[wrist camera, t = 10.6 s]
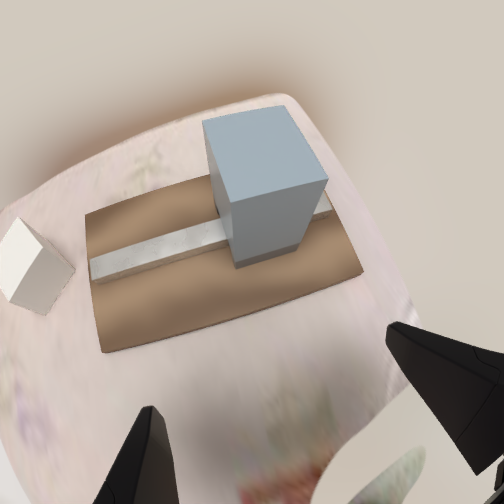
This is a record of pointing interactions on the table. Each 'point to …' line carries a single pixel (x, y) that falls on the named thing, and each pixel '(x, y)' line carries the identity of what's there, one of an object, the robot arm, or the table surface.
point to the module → (262, 182)
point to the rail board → (195, 266)
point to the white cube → (31, 269)
